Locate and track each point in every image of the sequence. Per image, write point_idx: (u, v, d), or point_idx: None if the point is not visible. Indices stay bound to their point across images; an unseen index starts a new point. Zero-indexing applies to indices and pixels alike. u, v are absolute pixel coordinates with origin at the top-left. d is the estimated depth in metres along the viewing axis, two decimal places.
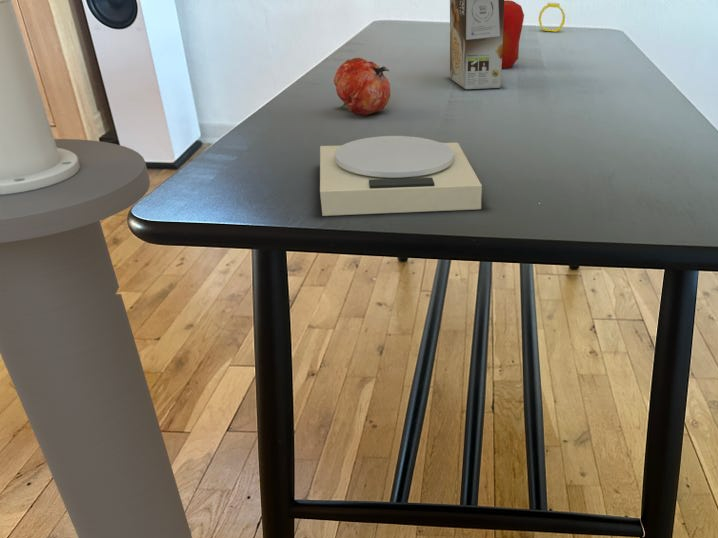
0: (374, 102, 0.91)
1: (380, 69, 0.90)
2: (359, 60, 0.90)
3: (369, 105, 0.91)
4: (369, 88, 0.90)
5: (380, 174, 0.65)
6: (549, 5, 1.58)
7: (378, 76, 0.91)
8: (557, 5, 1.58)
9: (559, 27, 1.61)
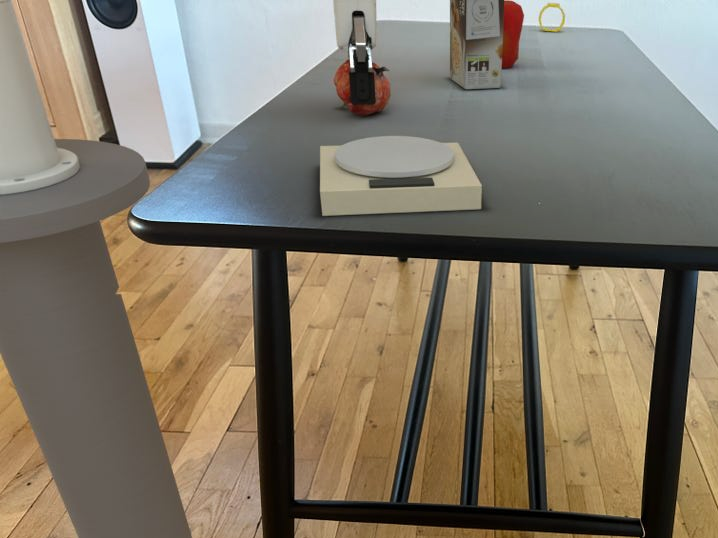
0: None
1: (380, 69, 0.90)
2: None
3: (369, 105, 0.91)
4: None
5: (380, 174, 0.65)
6: (549, 5, 1.58)
7: (378, 76, 0.91)
8: (557, 5, 1.58)
9: (559, 27, 1.61)
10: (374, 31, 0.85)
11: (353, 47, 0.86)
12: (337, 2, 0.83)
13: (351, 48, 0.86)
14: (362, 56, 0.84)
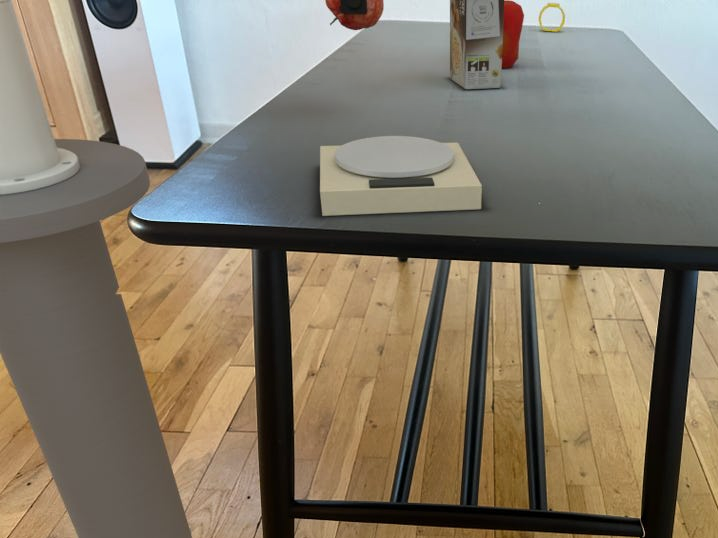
0: (366, 13, 0.85)
1: None
2: None
3: (360, 16, 0.85)
4: None
5: (380, 174, 0.65)
6: (549, 5, 1.58)
7: None
8: (557, 5, 1.58)
9: (559, 27, 1.61)
10: None
11: None
12: None
13: None
14: None
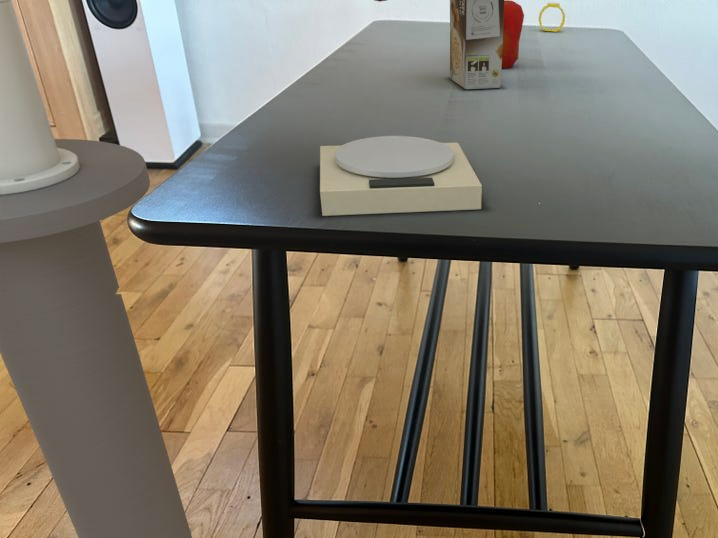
0: None
1: None
2: None
3: None
4: None
5: (380, 174, 0.65)
6: (549, 5, 1.58)
7: None
8: (557, 5, 1.58)
9: (559, 27, 1.61)
10: None
11: None
12: None
13: None
14: None
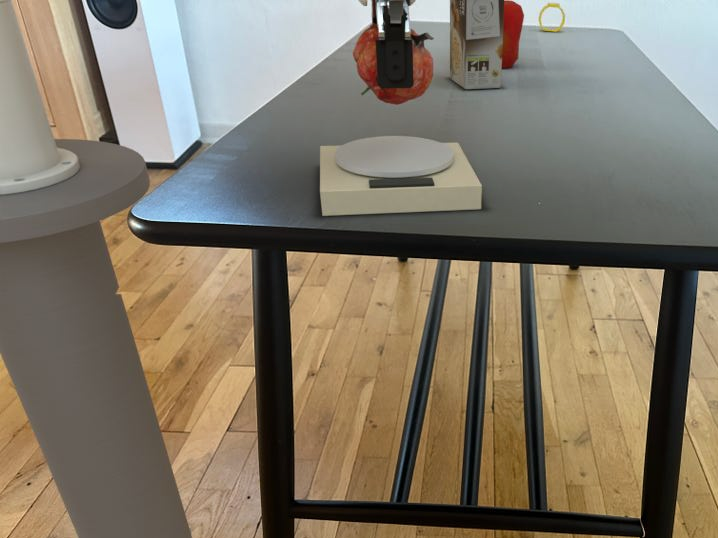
0: None
1: (420, 37, 0.63)
2: None
3: (404, 89, 0.64)
4: None
5: (380, 174, 0.65)
6: (549, 5, 1.58)
7: (417, 47, 0.63)
8: (557, 5, 1.58)
9: (559, 27, 1.61)
10: None
11: (383, 2, 0.59)
12: None
13: (380, 4, 0.59)
14: (397, 14, 0.57)
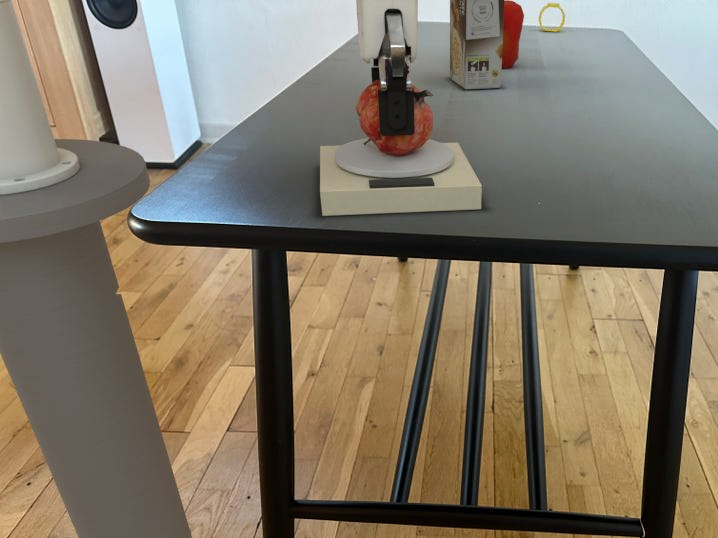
0: (412, 139, 0.66)
1: (421, 94, 0.65)
2: None
3: (405, 143, 0.66)
4: None
5: (380, 174, 0.65)
6: (549, 5, 1.58)
7: (417, 103, 0.66)
8: (557, 5, 1.58)
9: (559, 27, 1.61)
10: (415, 38, 0.60)
11: (385, 56, 0.60)
12: None
13: (382, 57, 0.60)
14: (399, 66, 0.58)
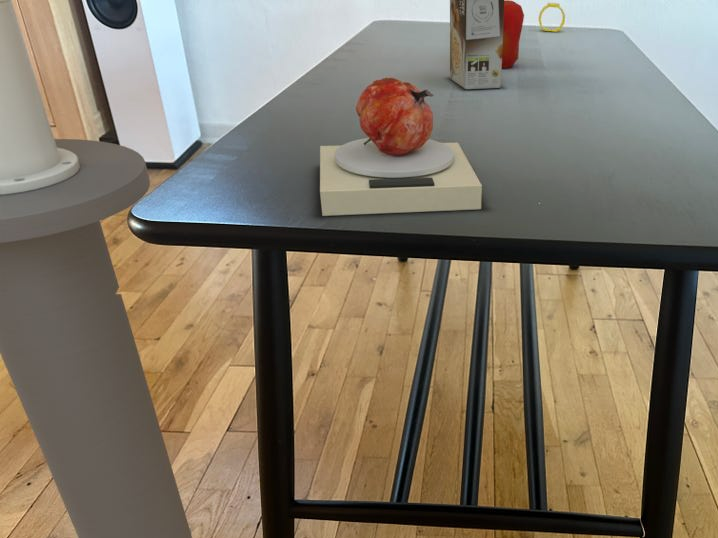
0: (412, 139, 0.66)
1: (421, 94, 0.65)
2: (392, 81, 0.65)
3: (405, 143, 0.66)
4: (405, 120, 0.65)
5: (380, 174, 0.65)
6: (549, 5, 1.58)
7: (417, 103, 0.66)
8: (557, 5, 1.58)
9: (559, 27, 1.61)
10: None
11: None
12: None
13: None
14: None
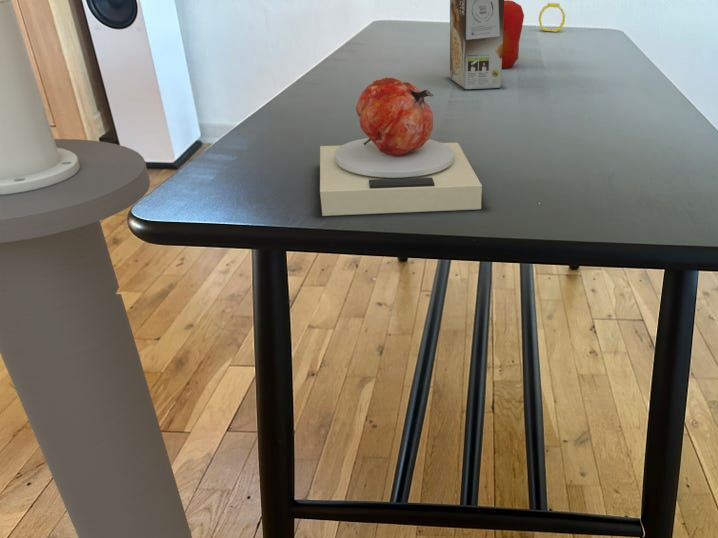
0: (412, 139, 0.66)
1: (421, 94, 0.65)
2: (392, 81, 0.65)
3: (405, 143, 0.66)
4: (405, 120, 0.65)
5: (380, 174, 0.65)
6: (549, 5, 1.58)
7: (417, 103, 0.66)
8: (557, 5, 1.58)
9: (559, 27, 1.61)
10: None
11: None
12: None
13: None
14: None
